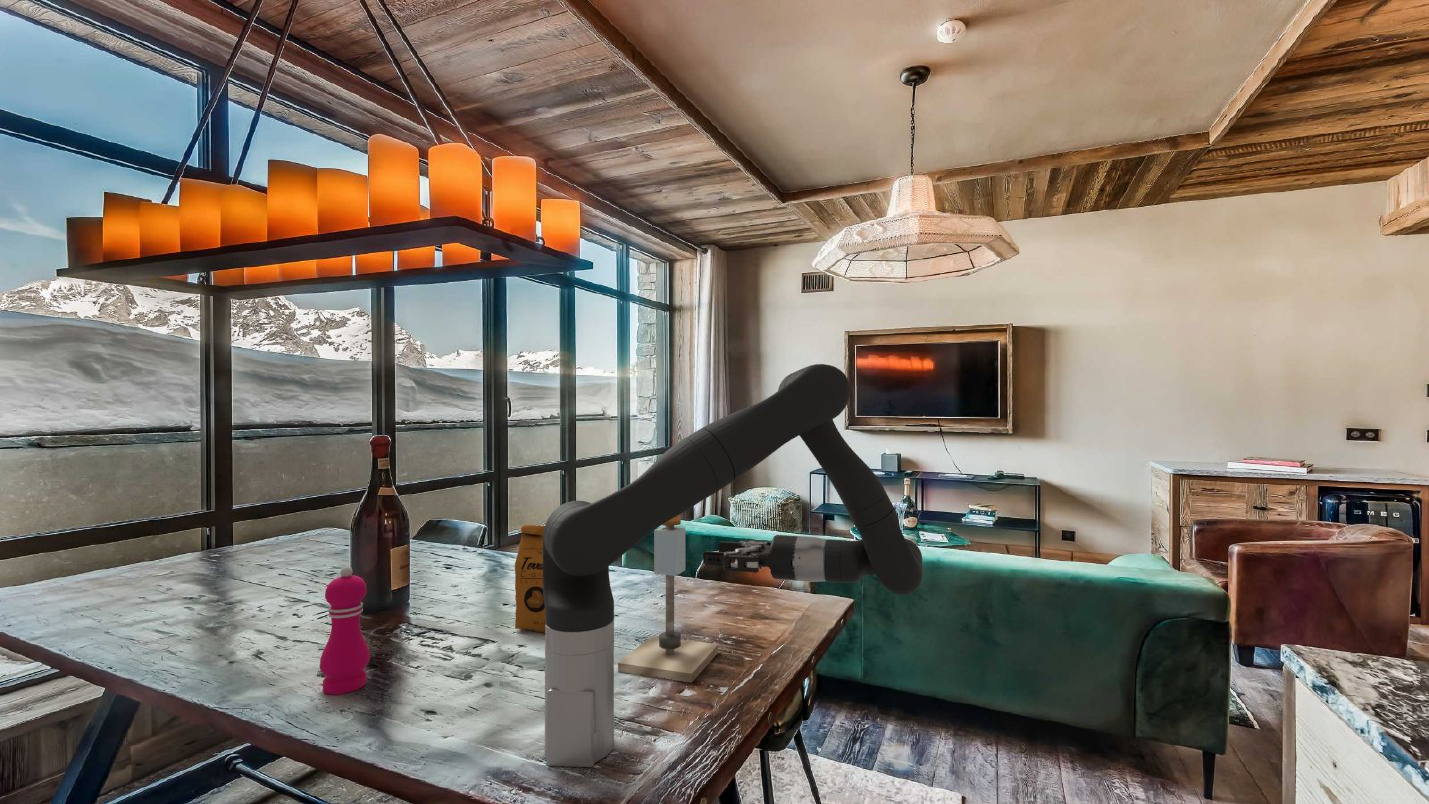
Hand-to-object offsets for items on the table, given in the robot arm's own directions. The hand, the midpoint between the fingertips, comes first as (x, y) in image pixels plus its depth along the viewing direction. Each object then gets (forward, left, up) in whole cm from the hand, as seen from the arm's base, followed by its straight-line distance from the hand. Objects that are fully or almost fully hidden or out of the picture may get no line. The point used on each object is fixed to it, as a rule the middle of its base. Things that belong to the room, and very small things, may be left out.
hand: (711, 552), depth 110 cm
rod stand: (+2, +8, -21) cm, 22 cm away
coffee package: (+18, +37, -21) cm, 46 cm away
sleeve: (+2, +8, -4) cm, 9 cm away
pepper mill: (-12, +61, -21) cm, 65 cm away
